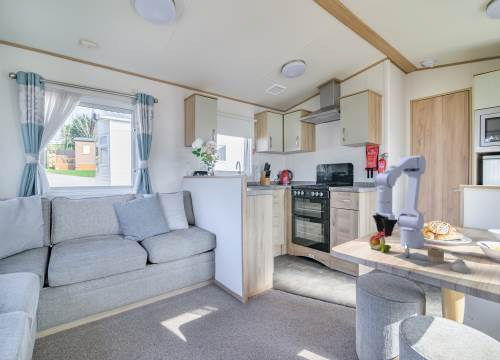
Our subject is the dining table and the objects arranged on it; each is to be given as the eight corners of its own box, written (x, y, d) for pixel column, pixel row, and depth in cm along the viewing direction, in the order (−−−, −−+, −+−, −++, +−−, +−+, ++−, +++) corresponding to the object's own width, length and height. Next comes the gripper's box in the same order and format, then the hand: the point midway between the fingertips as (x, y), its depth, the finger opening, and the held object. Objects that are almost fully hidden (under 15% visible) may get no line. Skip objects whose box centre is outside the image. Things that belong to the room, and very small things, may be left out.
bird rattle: (368, 254, 108) (389, 252, 102) (362, 229, 112) (381, 226, 105) (374, 253, 112) (395, 251, 105) (368, 229, 115) (388, 226, 109)
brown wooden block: (433, 258, 98) (433, 247, 98) (446, 262, 93) (447, 250, 93) (424, 259, 96) (424, 248, 96) (437, 264, 92) (438, 252, 91)
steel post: (406, 256, 100) (406, 242, 99) (410, 258, 98) (410, 243, 98) (403, 257, 99) (403, 243, 99) (407, 258, 98) (407, 244, 97)
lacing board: (416, 254, 105) (416, 252, 105) (449, 265, 93) (450, 262, 93) (392, 258, 101) (392, 255, 101) (424, 269, 88) (424, 267, 88)
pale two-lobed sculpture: (466, 281, 82) (448, 272, 86) (468, 274, 88) (451, 266, 91) (471, 270, 81) (453, 261, 84) (474, 263, 86) (456, 256, 90)
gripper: (368, 199, 110) (368, 229, 110) (381, 203, 95) (381, 237, 95) (384, 200, 109) (384, 229, 109) (400, 203, 94) (400, 238, 95)
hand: (384, 233), depth 102 cm, fingers open, 7 cm apart
